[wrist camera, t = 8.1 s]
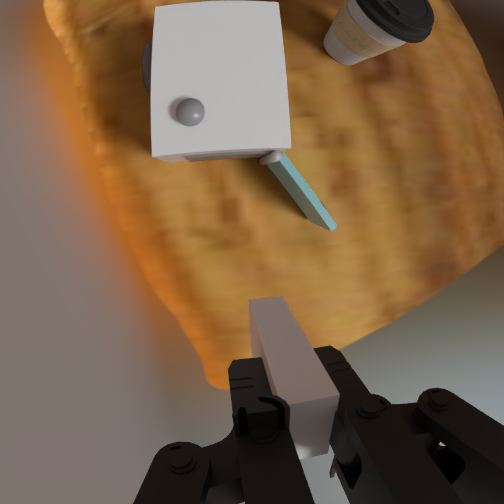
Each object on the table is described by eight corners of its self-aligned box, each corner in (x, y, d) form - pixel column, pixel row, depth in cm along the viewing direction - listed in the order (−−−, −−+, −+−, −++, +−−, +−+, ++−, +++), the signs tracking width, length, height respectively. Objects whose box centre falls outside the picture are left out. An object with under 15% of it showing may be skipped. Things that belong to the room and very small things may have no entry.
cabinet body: (156, 44, 27) (140, 5, 18) (263, 38, 29) (280, -2, 19) (156, 166, 31) (134, 161, 22) (271, 158, 33) (293, 149, 23)
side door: (257, 160, 32) (269, 155, 25) (271, 149, 32) (286, 142, 25) (306, 223, 35) (328, 234, 28) (319, 213, 35) (344, 221, 28)
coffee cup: (305, 62, 30) (357, 5, 16) (315, 11, 28) (361, -48, 14) (370, 86, 32) (442, 53, 17) (375, 36, 30) (436, -6, 15)
